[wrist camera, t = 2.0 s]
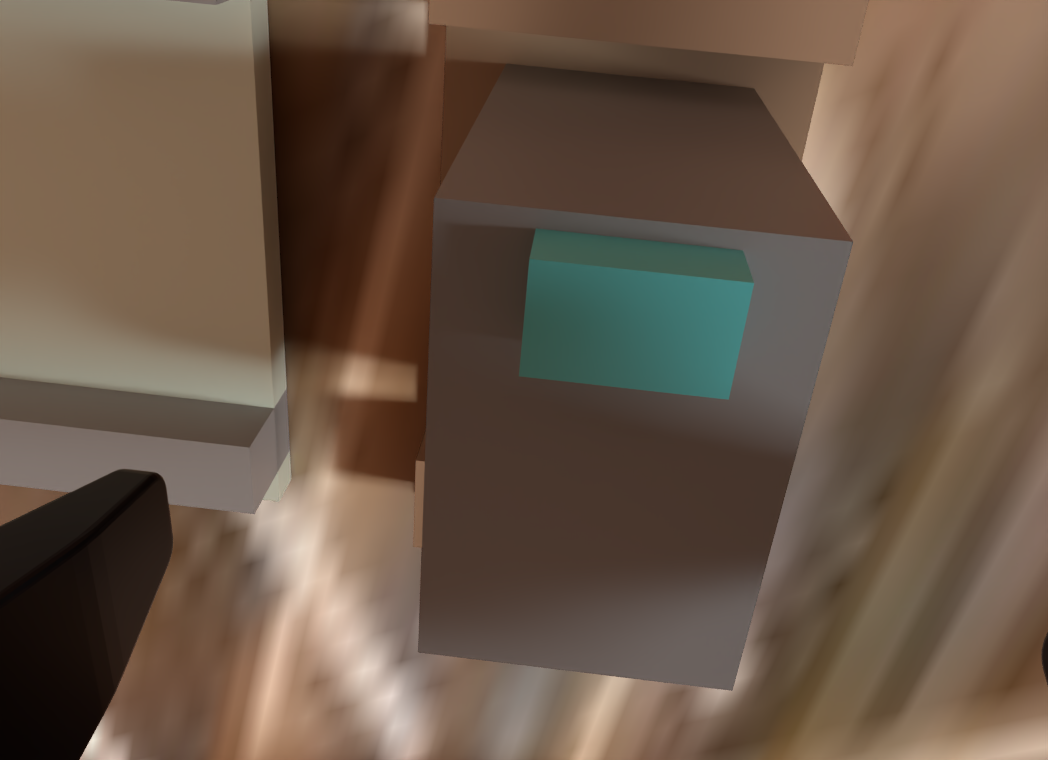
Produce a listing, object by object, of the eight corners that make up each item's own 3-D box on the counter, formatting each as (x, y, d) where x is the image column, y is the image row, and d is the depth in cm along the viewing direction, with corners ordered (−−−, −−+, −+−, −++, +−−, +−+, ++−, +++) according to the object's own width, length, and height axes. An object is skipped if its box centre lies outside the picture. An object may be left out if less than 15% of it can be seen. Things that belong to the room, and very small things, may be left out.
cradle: (258, -174, 14) (201, -181, 12) (291, 479, 20) (256, 545, 18) (-256, -222, 14) (-392, -236, 12) (-74, 437, 20) (-147, 497, 18)
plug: (754, 88, 15) (874, 274, 8) (691, 408, 18) (740, 743, 11) (506, 63, 15) (418, 224, 8) (484, 385, 18) (406, 701, 11)
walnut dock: (860, -118, 14) (896, -116, 12) (713, 528, 19) (723, 593, 18) (456, -156, 14) (434, -159, 12) (430, 495, 20) (412, 556, 18)
